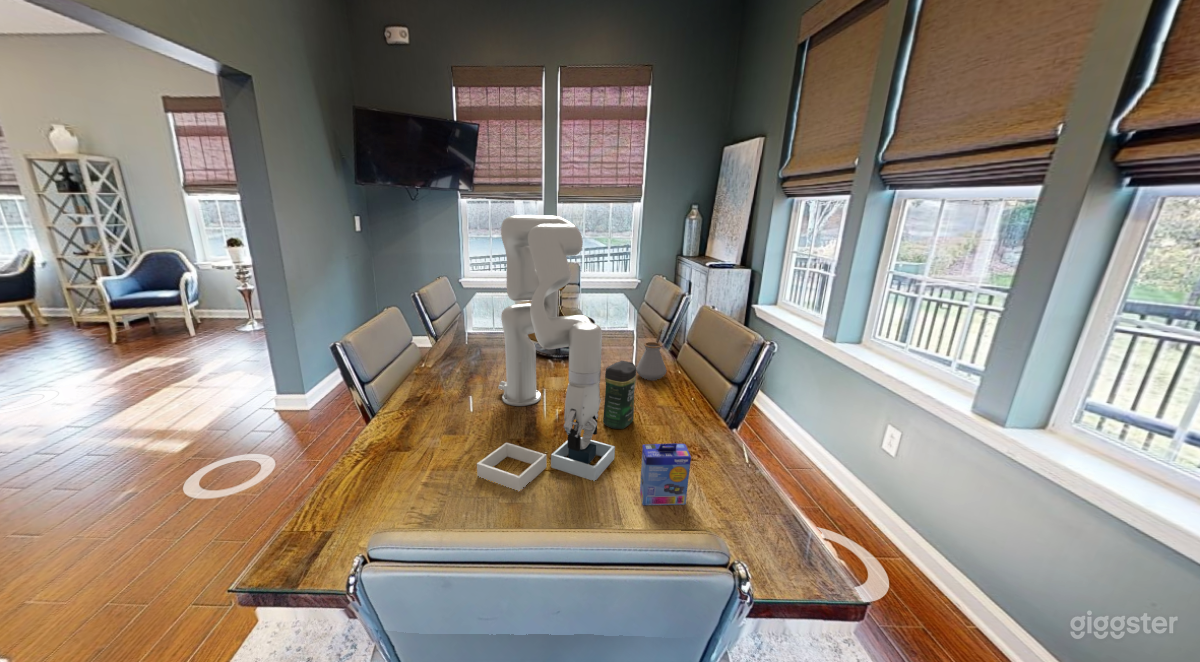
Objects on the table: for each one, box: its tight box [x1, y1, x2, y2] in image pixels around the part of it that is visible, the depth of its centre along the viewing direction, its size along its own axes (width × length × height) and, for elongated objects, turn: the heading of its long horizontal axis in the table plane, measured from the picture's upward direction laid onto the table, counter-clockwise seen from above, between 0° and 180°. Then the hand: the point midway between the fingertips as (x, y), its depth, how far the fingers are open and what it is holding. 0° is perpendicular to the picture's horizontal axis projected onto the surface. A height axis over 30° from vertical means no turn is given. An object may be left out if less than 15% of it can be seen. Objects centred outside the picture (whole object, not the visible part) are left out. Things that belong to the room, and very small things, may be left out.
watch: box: [567, 418, 598, 465], centre depth 110 cm, size 6×8×11 cm
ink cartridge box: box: [639, 442, 692, 506], centre depth 96 cm, size 10×6×14 cm, turn 95°
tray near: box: [476, 442, 548, 492], centre depth 106 cm, size 12×11×4 cm
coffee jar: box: [602, 360, 637, 430], centre depth 130 cm, size 10×8×19 cm
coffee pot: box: [636, 329, 667, 381], centre depth 171 cm, size 21×12×15 cm, turn 160°
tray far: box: [550, 436, 616, 482], centre depth 110 cm, size 12×11×4 cm
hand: (582, 440), depth 110 cm, fingers closed on watch, 8 cm apart
